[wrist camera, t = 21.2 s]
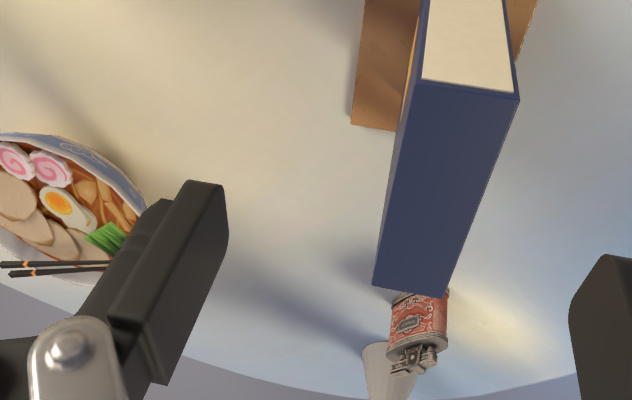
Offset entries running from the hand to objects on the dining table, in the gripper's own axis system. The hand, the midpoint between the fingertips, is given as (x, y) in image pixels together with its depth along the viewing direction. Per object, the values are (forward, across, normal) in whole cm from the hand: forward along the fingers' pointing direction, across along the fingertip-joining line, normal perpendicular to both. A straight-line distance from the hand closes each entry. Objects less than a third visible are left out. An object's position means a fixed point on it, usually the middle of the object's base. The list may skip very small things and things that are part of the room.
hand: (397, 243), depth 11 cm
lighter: (+31, -6, +43) cm, 53 cm away
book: (+20, -2, +15) cm, 25 cm away
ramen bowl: (+31, +34, +32) cm, 56 cm away
